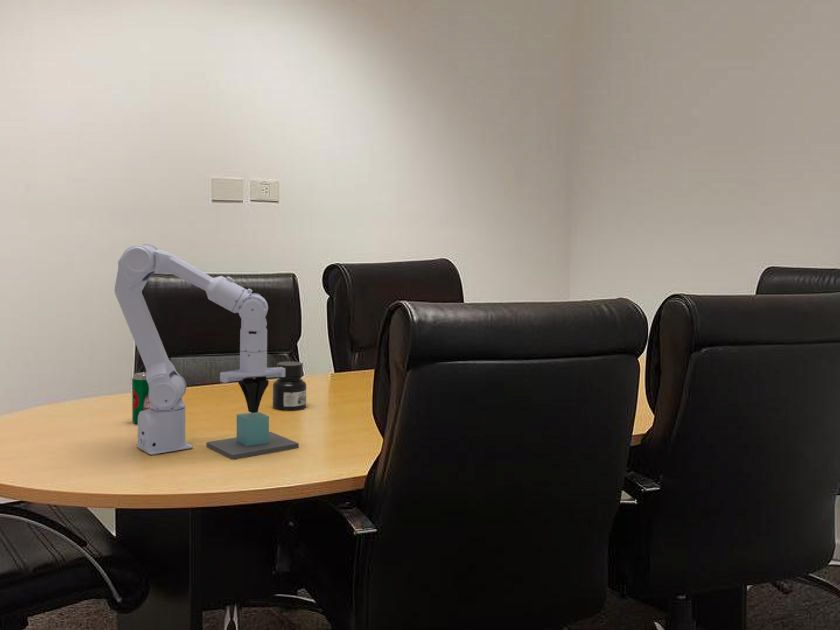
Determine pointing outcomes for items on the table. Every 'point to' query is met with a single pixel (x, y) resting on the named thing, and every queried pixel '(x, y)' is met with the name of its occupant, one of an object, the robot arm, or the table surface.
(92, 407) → the table surface
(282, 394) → the ink bottle
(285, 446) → the pin stand
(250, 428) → the teal square block
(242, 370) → the robot arm
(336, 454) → the table surface
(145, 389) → the soda can
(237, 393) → the table surface
